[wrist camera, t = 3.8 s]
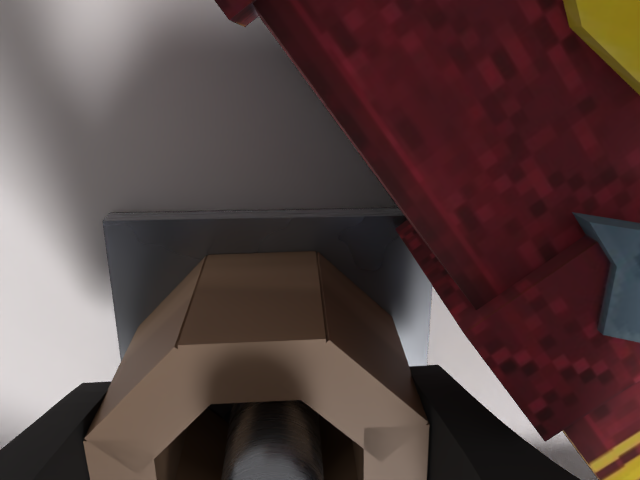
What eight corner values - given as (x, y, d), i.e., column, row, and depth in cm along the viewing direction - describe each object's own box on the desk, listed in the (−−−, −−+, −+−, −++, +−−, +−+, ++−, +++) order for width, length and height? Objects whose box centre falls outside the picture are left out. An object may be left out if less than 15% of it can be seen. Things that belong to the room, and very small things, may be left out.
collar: (394, 248, 12) (434, 334, 9) (389, 462, 14) (420, 601, 11) (127, 257, 12) (66, 349, 9) (157, 474, 14) (116, 618, 10)
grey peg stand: (431, 207, 12) (534, 345, 7) (414, 464, 15) (485, 710, 9) (109, 212, 12) (-23, 360, 7) (142, 475, 14) (61, 734, 9)
